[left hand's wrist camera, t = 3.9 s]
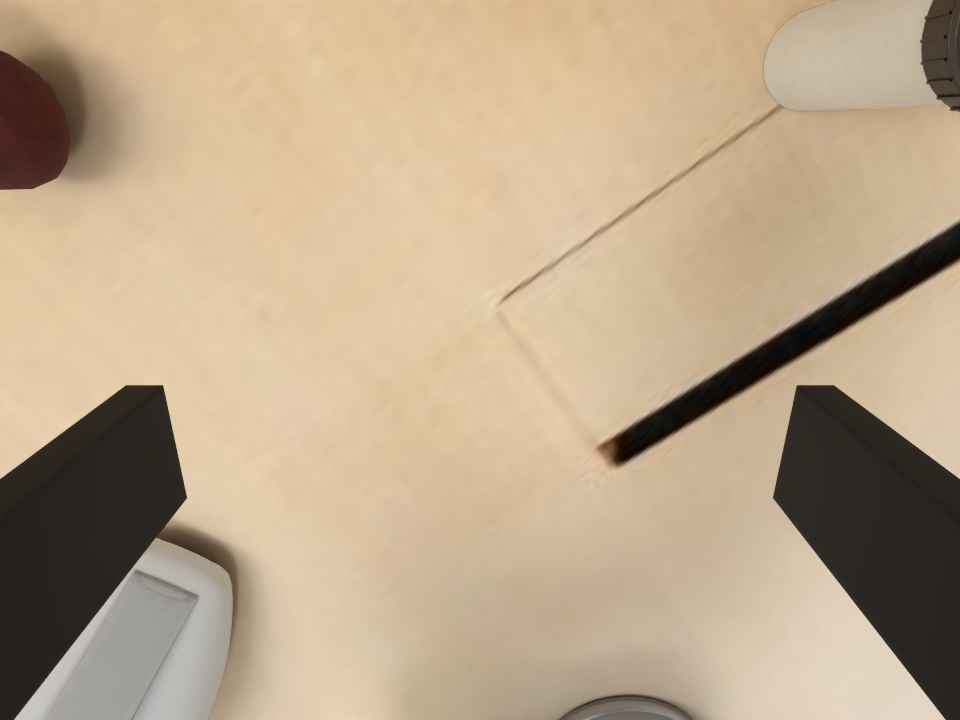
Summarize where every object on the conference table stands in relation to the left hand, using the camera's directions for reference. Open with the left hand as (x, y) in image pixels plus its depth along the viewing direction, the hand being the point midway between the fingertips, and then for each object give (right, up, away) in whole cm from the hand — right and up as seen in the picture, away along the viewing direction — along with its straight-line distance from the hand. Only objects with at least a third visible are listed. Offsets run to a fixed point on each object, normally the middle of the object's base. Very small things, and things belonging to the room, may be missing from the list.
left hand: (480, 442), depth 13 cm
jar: (+19, +19, +22) cm, 35 cm away
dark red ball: (-27, +16, +24) cm, 39 cm away
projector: (-29, -22, +39) cm, 53 cm away
